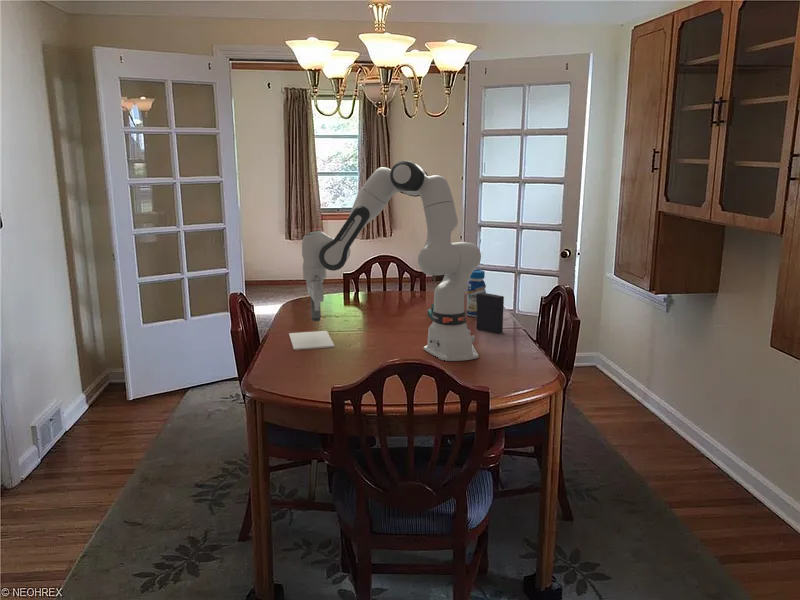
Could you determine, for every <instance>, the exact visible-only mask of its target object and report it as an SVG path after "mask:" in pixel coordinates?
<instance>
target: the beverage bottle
mask: <svg viewBox="0 0 800 600" xmlns="http://www.w3.org/2000/svg"><path fill="white" fill-rule="evenodd" d="M485 275H486V274H485V270H483V269H475V270H474V271H473V272H472V274H471V276H470V278H469V280H468V283H467V286H466V316H469V317H475V318H477V303H476V296H477V294H478V293H487V291H486V288H487V284H486V282H485V281H484V279H485Z"/></svg>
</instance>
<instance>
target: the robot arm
mask: <svg viewBox="0 0 800 600" xmlns="http://www.w3.org/2000/svg"><path fill="white" fill-rule="evenodd" d="M397 193H401V194H403V195H407V196H409V197H420V199H421V202H422V205H423V206H422V207H423V211H424V216H425V222H426V223H425V224H426V229H427V233H426V234H427V236H426V241H425V244H424V246H423V247H422V249H420V251H419V252H418V253H419V254H418V256H417V265H418V267H419V269H420V270H421V272H422V273H423V274H424V275H430V276H437V277H438V276H443V275H444V276H443V278H442V280H441V282H440V283H439V284H438V285H437V286H436V287H435V289H434V291H433V295H434V296H433V304H434V310H433V314H432V320H433V321H432V320H431V321H432V323H431V324H430V325H429V327H428V331H427V333H428V334H427V344H426V345H424V346H423V351H425V352H427V353H428V354H430V355H432V356H434V357H435V356H436V357H435V358H437V357H438V358H437V359H439V360H441V361H444V360H445V361H446V362H459V361H469V360H476V359H478V358H480V357H479V353H478V351H477V350H476V348H475V346H474V345H473V343H475V341H476V337H475V335H471V333H472V331H471V329H469V327H468V324H467V323H466V322H467V313H466V310H465V301H466V300H465V299H466V291H467V285H468V282H469V281H470V276H471V274H472V272H473V271H474V270H476V269H477V268H478V267H479V265H480V263H481V260H482V252H481V249H480V247H478V245H477V244H476V243H473V242H467V241H457V242H452V239H451V237H452V233H453V231H454V230H456V228H457V227H458V224H459V221H458V220H459V218H458V216H457V211H456V206H455V202H454V201H455V200H454V198H453V194H452V191H451V188H450V185H449V183H448V181H447V179H446V178H445V177H444V176H441V175H436V174H435V175H434V174H433V175H430V176H429V175H428V172H426V171H425V170H424V169H423V168H422V167H421V166H420V165H418V164H417V163H414V162H413V161H409V160H400V161H398V162H396V163H395V164H394V165H393V166H392V168H389V167H385V166H384V167H382V166H381V167H378V168H377V169H375V171H374V172H373V173H372V174H371V175H370V176H369V177H368V178H367V179H366V181H365V182H364V184H363V185H362V187H361V189H360V190H359V191H358V193H357V196H356V198H355V200H354V202H353V205H352V208H351V210H350V213H349V215H348V217H347V219H346V221H345V222H344V224H343V225H342V227H341V228H340V230H339V231H338V232H337V234H336V236H335V237H332V236H329V235H328V234H326V233H325V232H323V231H321V230H314V231H310V232H308V233H306V234H304V236H303V237H302V242H301V256H302V259H303V263H302V279H303V280H305V284H306V290H307V293H308V294H309V296H310V299H311V298H312V299H313V301H314V310H315V311H319V305H320V306H321V303H322V302H324V300H325V299H324V297H325V296H324V284H323V283H324V280H325V279H327V271H331V272H334V271H338V270H340V269H342V268H343V267H344V266H345V264H346V262H347V261H348V259H349V258H350V256H351V246H352V245H353V243H354V242H355V240H356V239H357V237H358V236H359V234H360V233H361V231H362V230H364V228H365V227H366V226H367V225H368V224H370V222H372V221H373V220H374V219H376V218H377V216H379V214H381V212H382V211H383V210H384V209H385V207H386V206H387V204H388V203H389V202H390V200H391V198H392V197H393V196H394V195H395V194H397ZM310 290H311V295H310Z"/></svg>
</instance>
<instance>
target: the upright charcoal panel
mask: <svg viewBox="0 0 800 600" xmlns="http://www.w3.org/2000/svg"><path fill="white" fill-rule="evenodd" d="M504 300H505V297H504V296H503V295H497V294H492V293H488V292H486V293H478V294H477V296H476V303H477V317H476V327H475V328H476V330H479V331H483V330H484V331H483V332H489V333H493V334H496V335H497V334H501V333H503V329H504V327H503V326H504Z"/></svg>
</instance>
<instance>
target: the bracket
mask: <svg viewBox="0 0 800 600" xmlns="http://www.w3.org/2000/svg"><path fill="white" fill-rule="evenodd" d="M433 310H434V303H431V308H428V309H427V316H428V315H429V316H428V317H429V318H430V320H431V319H432V314H433Z"/></svg>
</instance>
